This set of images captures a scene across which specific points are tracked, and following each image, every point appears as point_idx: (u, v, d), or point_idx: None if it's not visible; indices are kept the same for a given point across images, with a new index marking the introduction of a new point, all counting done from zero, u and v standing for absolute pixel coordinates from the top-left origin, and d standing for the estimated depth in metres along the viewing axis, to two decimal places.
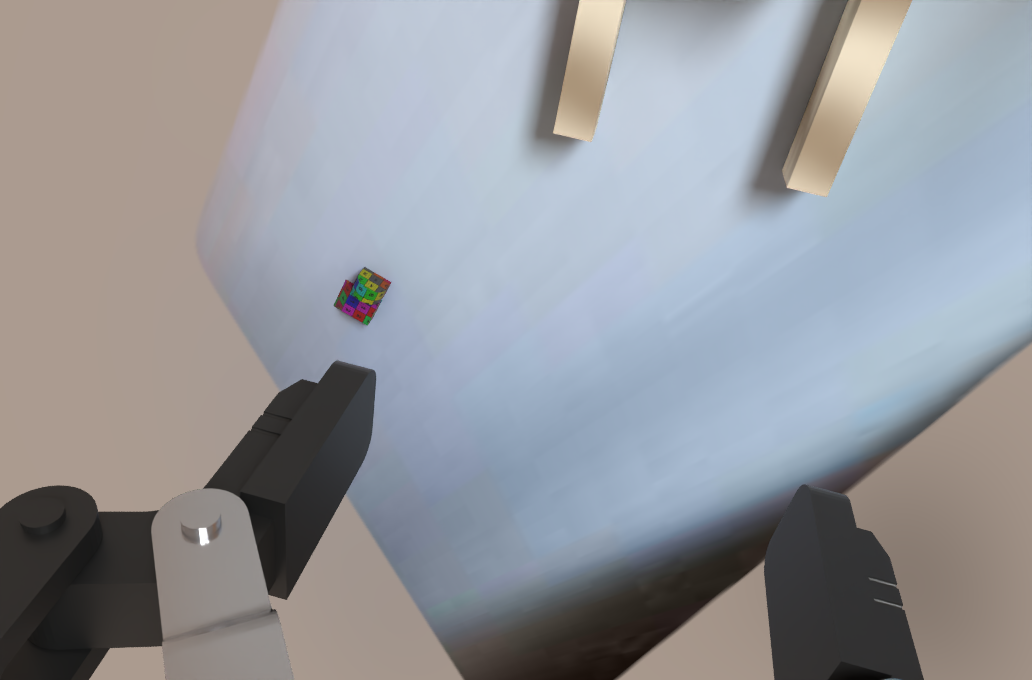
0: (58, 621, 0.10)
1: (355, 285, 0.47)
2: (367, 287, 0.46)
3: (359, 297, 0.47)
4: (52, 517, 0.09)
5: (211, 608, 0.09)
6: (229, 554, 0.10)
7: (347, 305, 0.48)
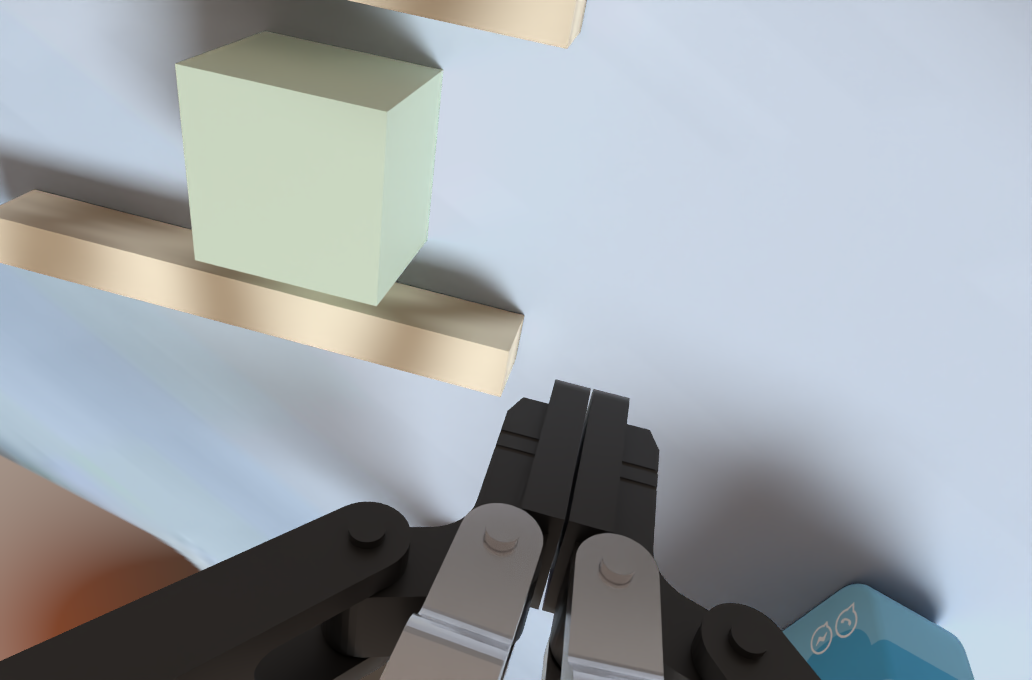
0: (340, 627, 0.10)
1: None
2: None
3: None
4: (374, 533, 0.10)
5: (466, 612, 0.09)
6: (506, 576, 0.10)
7: None
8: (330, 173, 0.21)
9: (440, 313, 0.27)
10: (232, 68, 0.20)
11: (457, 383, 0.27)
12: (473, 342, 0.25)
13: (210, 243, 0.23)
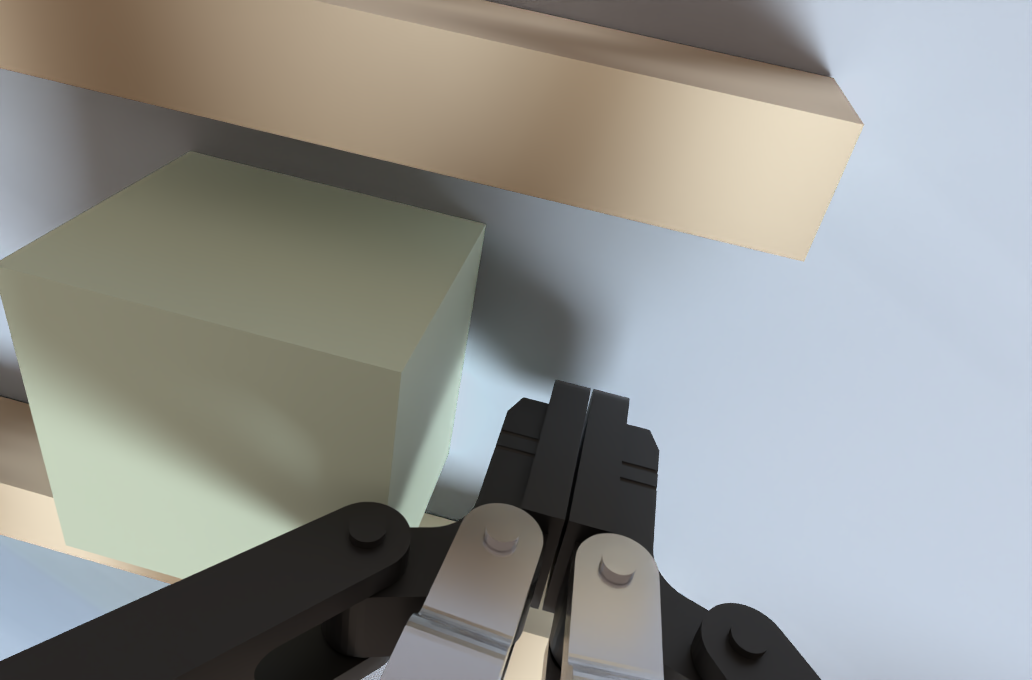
0: (340, 627, 0.10)
1: None
2: None
3: None
4: (374, 533, 0.10)
5: (466, 612, 0.09)
6: (506, 576, 0.10)
7: None
8: (292, 454, 0.11)
9: None
10: (108, 267, 0.11)
11: None
12: None
13: (88, 526, 0.13)
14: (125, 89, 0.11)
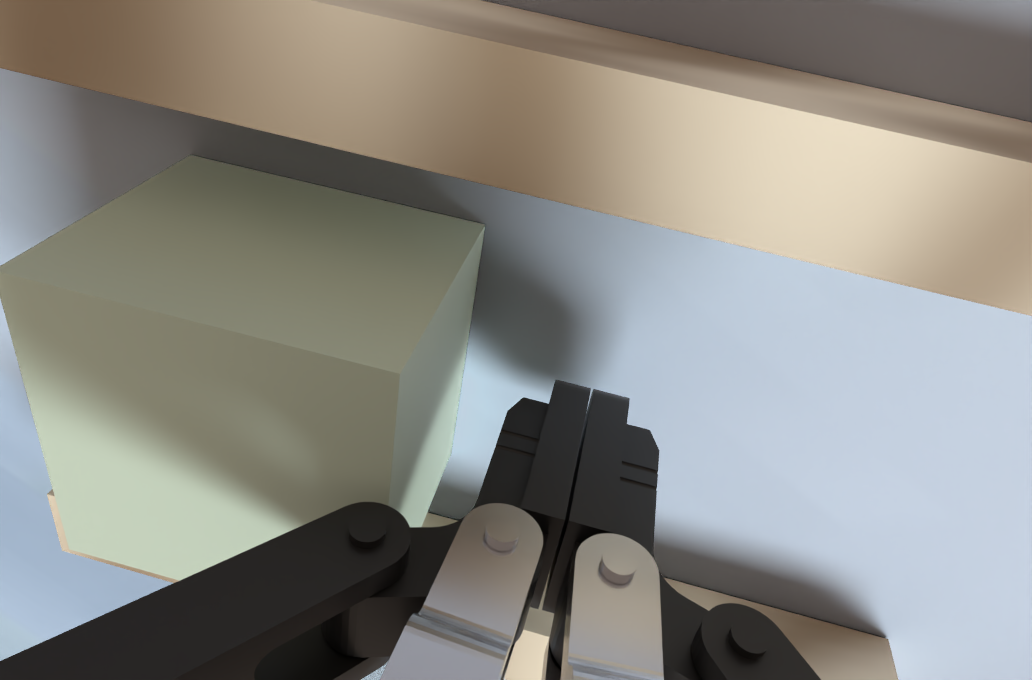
0: (340, 627, 0.10)
1: None
2: None
3: None
4: (374, 533, 0.10)
5: (466, 612, 0.09)
6: (506, 576, 0.10)
7: None
8: (292, 456, 0.11)
9: None
10: (108, 272, 0.11)
11: None
12: None
13: (91, 530, 0.13)
14: (521, 184, 0.11)
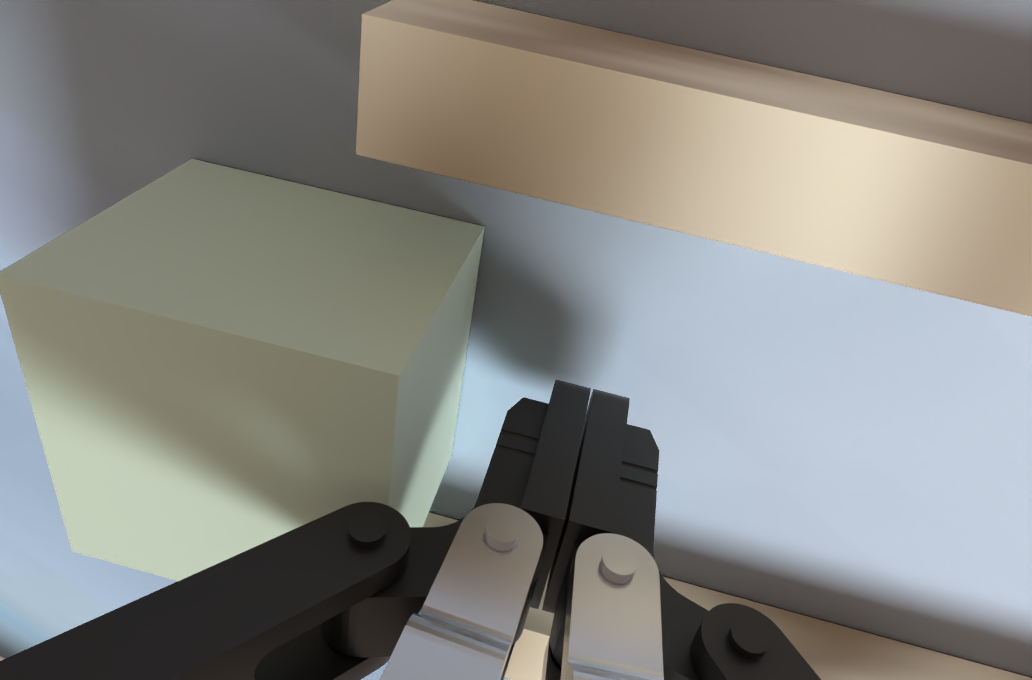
0: (340, 627, 0.10)
1: None
2: None
3: None
4: (374, 533, 0.10)
5: (466, 612, 0.09)
6: (506, 576, 0.10)
7: None
8: (292, 458, 0.11)
9: None
10: (108, 276, 0.11)
11: None
12: None
13: (94, 532, 0.13)
14: (1006, 301, 0.10)
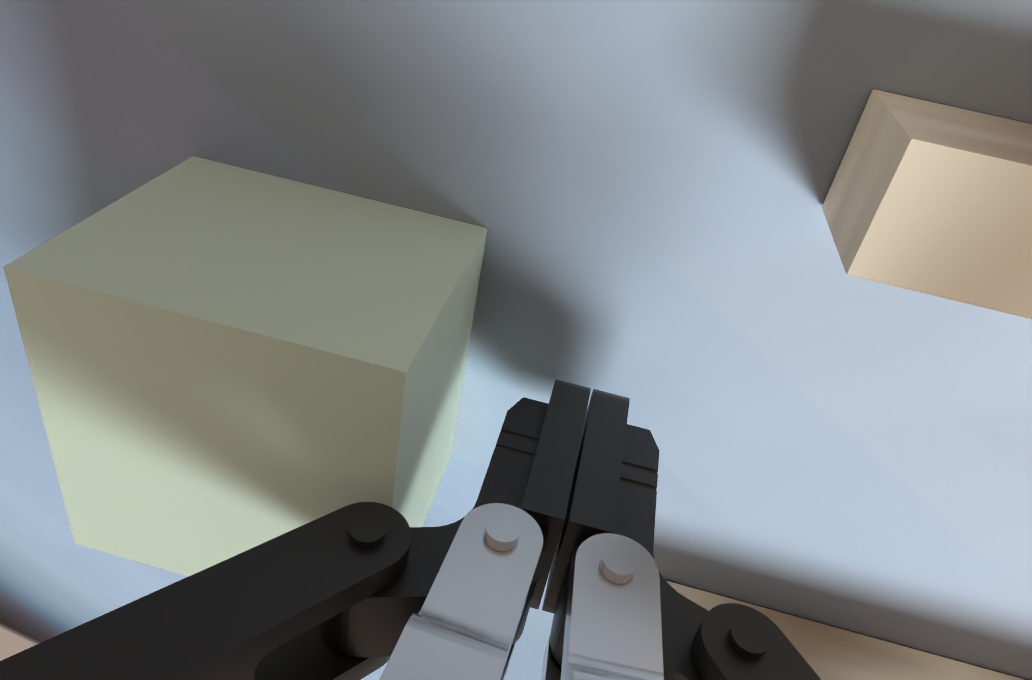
0: (340, 627, 0.10)
1: None
2: None
3: None
4: (374, 533, 0.10)
5: (466, 612, 0.09)
6: (506, 576, 0.10)
7: None
8: (298, 453, 0.11)
9: None
10: (117, 270, 0.11)
11: None
12: None
13: (97, 525, 0.14)
14: None
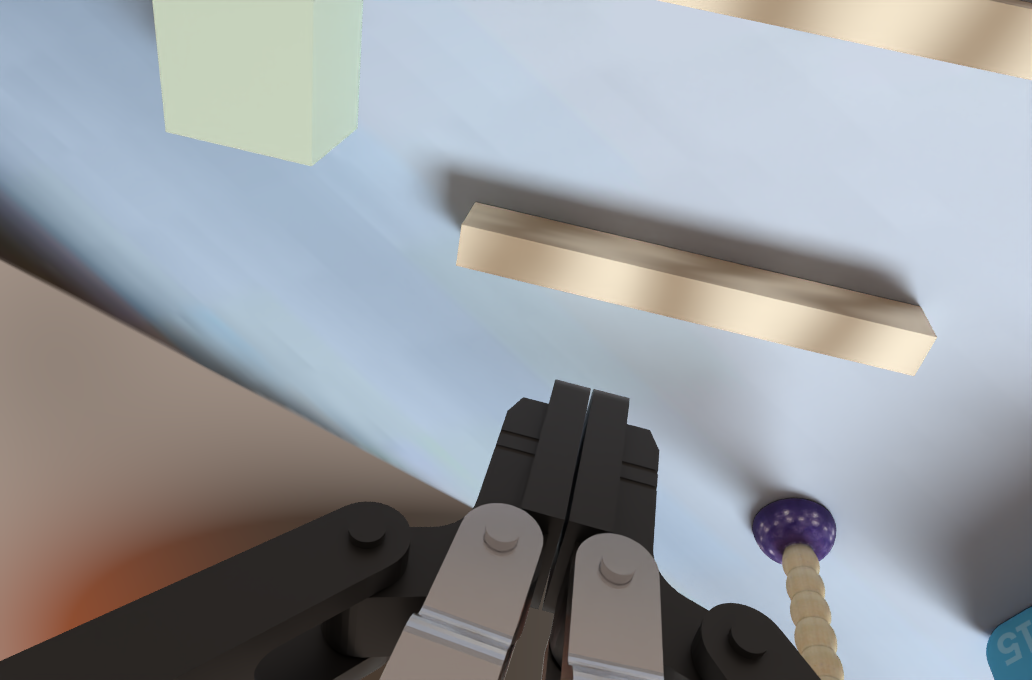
0: (340, 626, 0.10)
1: None
2: None
3: None
4: (374, 533, 0.10)
5: (466, 612, 0.09)
6: (506, 576, 0.10)
7: None
8: (271, 53, 0.27)
9: (861, 305, 0.31)
10: None
11: (876, 365, 0.31)
12: (905, 329, 0.30)
13: (178, 116, 0.29)
14: (771, 20, 0.25)
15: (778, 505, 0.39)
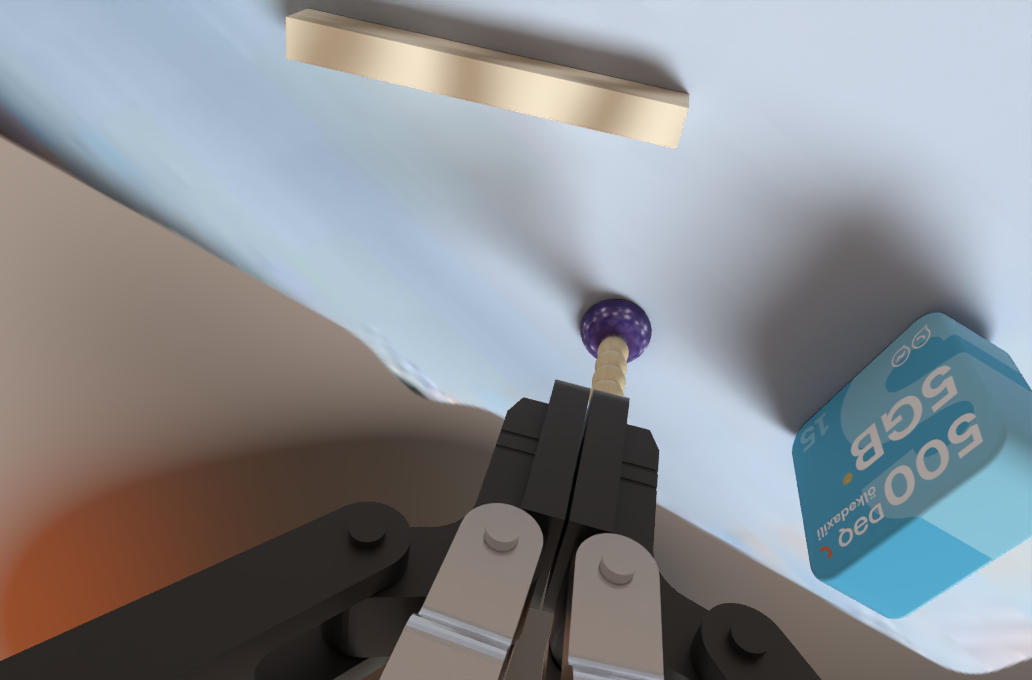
0: (340, 627, 0.10)
1: None
2: None
3: None
4: (374, 533, 0.10)
5: (466, 612, 0.09)
6: (505, 576, 0.10)
7: None
8: None
9: (631, 88, 0.36)
10: None
11: (644, 139, 0.36)
12: (662, 101, 0.35)
13: None
14: None
15: (598, 305, 0.44)
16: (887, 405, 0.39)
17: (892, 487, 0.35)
